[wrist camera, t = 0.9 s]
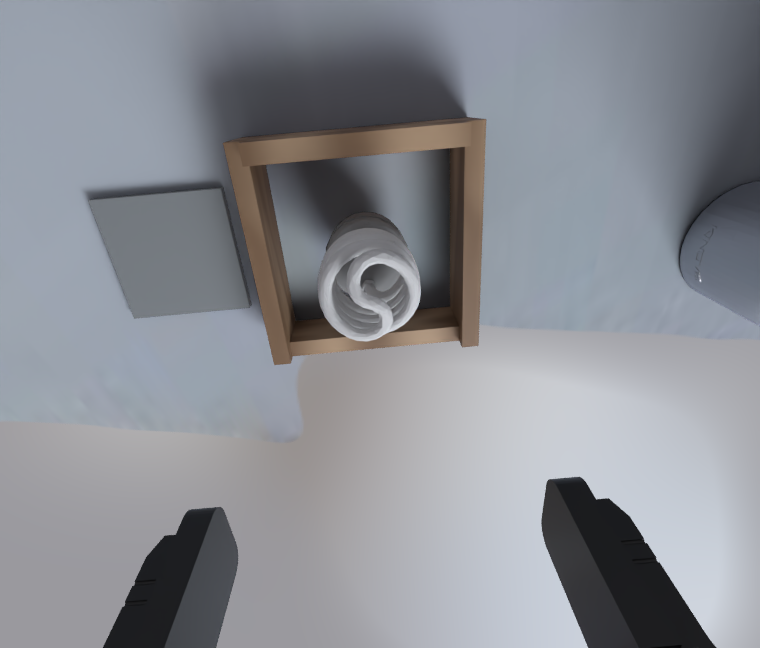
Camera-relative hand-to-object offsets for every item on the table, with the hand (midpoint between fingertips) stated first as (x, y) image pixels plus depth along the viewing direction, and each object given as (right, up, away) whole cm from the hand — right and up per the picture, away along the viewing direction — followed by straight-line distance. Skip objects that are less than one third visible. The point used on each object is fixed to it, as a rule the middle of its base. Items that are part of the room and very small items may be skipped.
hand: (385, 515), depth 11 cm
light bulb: (-1, +11, +21) cm, 24 cm away
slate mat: (-15, +10, +21) cm, 28 cm away
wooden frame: (-1, +11, +21) cm, 24 cm away
